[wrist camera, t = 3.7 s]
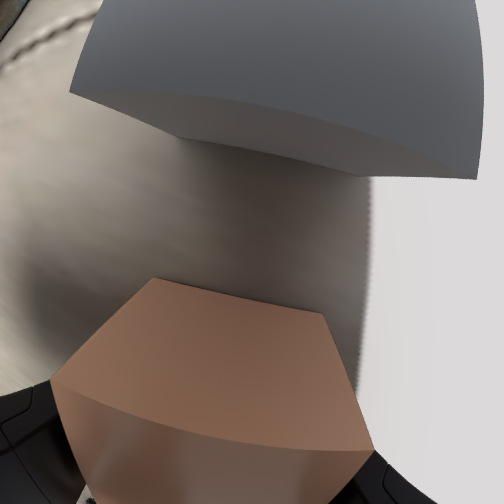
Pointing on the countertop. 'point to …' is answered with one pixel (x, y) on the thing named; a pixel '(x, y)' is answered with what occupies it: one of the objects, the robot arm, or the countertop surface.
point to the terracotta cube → (210, 403)
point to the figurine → (9, 13)
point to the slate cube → (299, 78)
